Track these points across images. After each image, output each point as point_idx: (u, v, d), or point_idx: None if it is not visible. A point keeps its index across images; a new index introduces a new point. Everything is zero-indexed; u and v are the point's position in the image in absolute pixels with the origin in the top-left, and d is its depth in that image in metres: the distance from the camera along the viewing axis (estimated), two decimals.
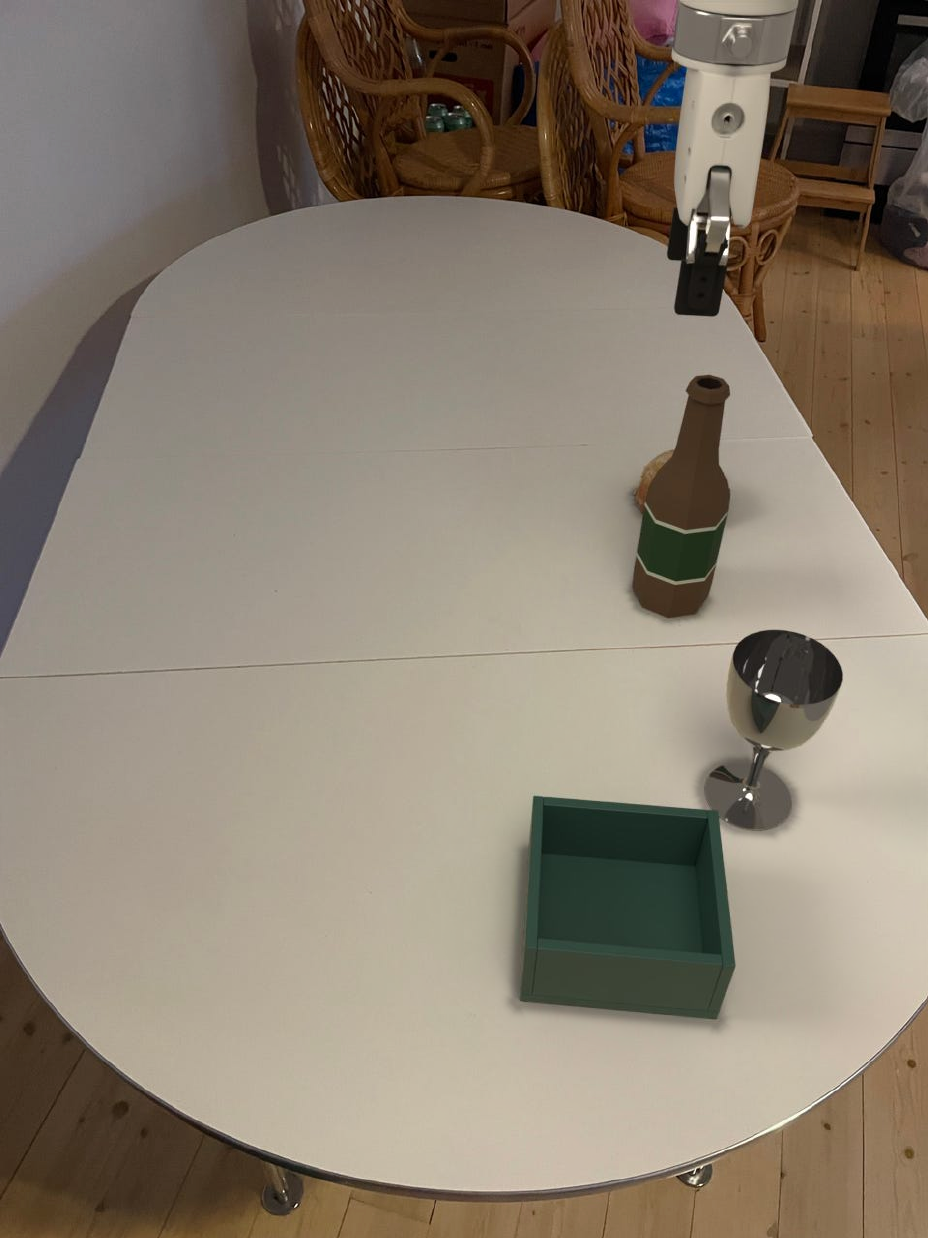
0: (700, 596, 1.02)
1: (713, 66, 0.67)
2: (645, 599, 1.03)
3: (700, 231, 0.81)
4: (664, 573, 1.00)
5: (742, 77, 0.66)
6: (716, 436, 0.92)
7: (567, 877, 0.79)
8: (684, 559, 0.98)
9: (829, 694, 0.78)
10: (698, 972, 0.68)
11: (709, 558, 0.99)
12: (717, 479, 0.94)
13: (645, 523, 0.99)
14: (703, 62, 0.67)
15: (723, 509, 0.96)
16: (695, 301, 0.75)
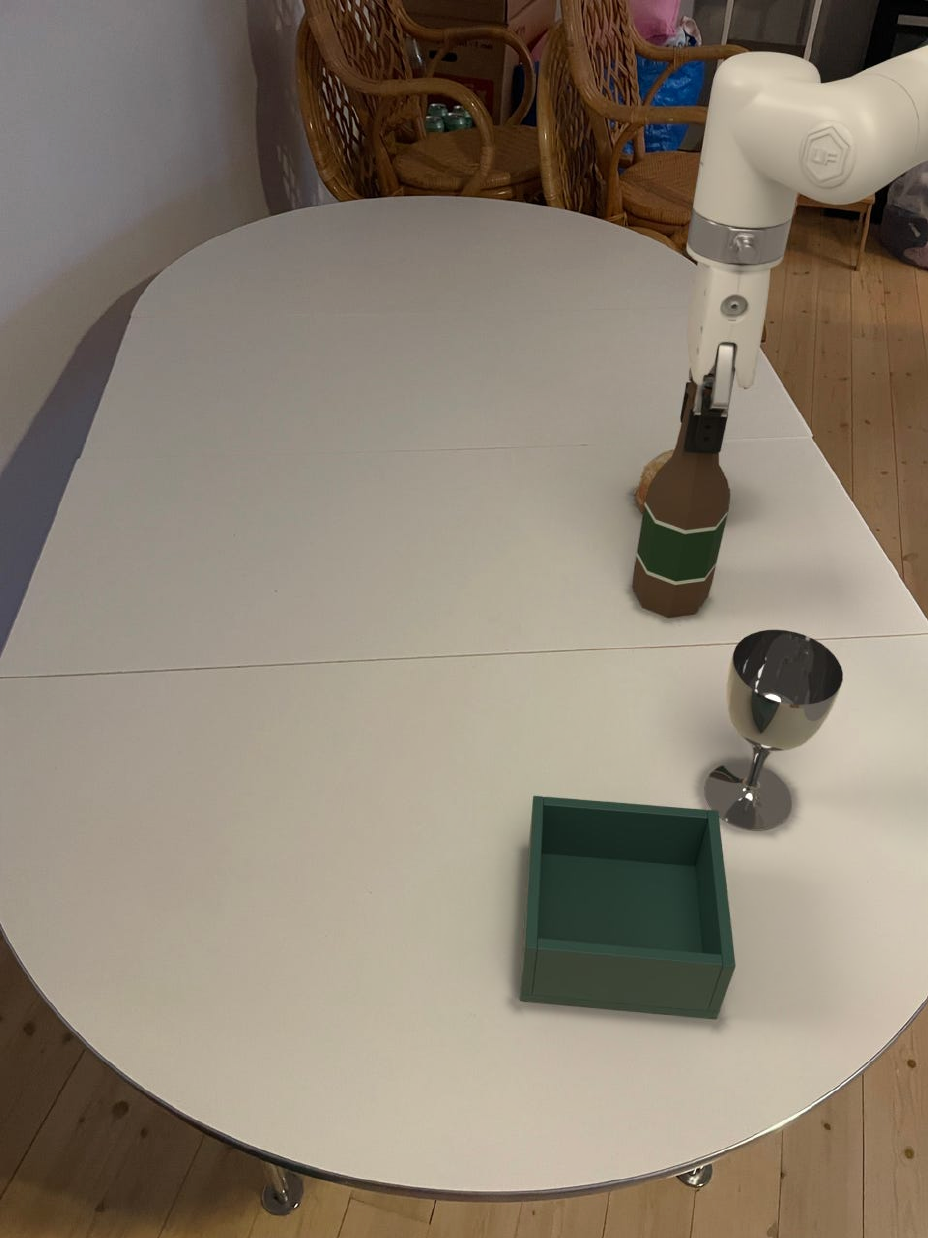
0: (700, 596, 1.02)
1: (722, 264, 0.79)
2: (644, 599, 1.03)
3: None
4: (664, 573, 1.00)
5: (746, 275, 0.79)
6: None
7: (567, 877, 0.79)
8: (684, 559, 0.98)
9: (829, 694, 0.78)
10: (698, 972, 0.68)
11: (709, 558, 0.99)
12: (717, 479, 0.94)
13: (646, 523, 0.99)
14: (713, 261, 0.79)
15: (723, 509, 0.96)
16: (701, 443, 0.90)
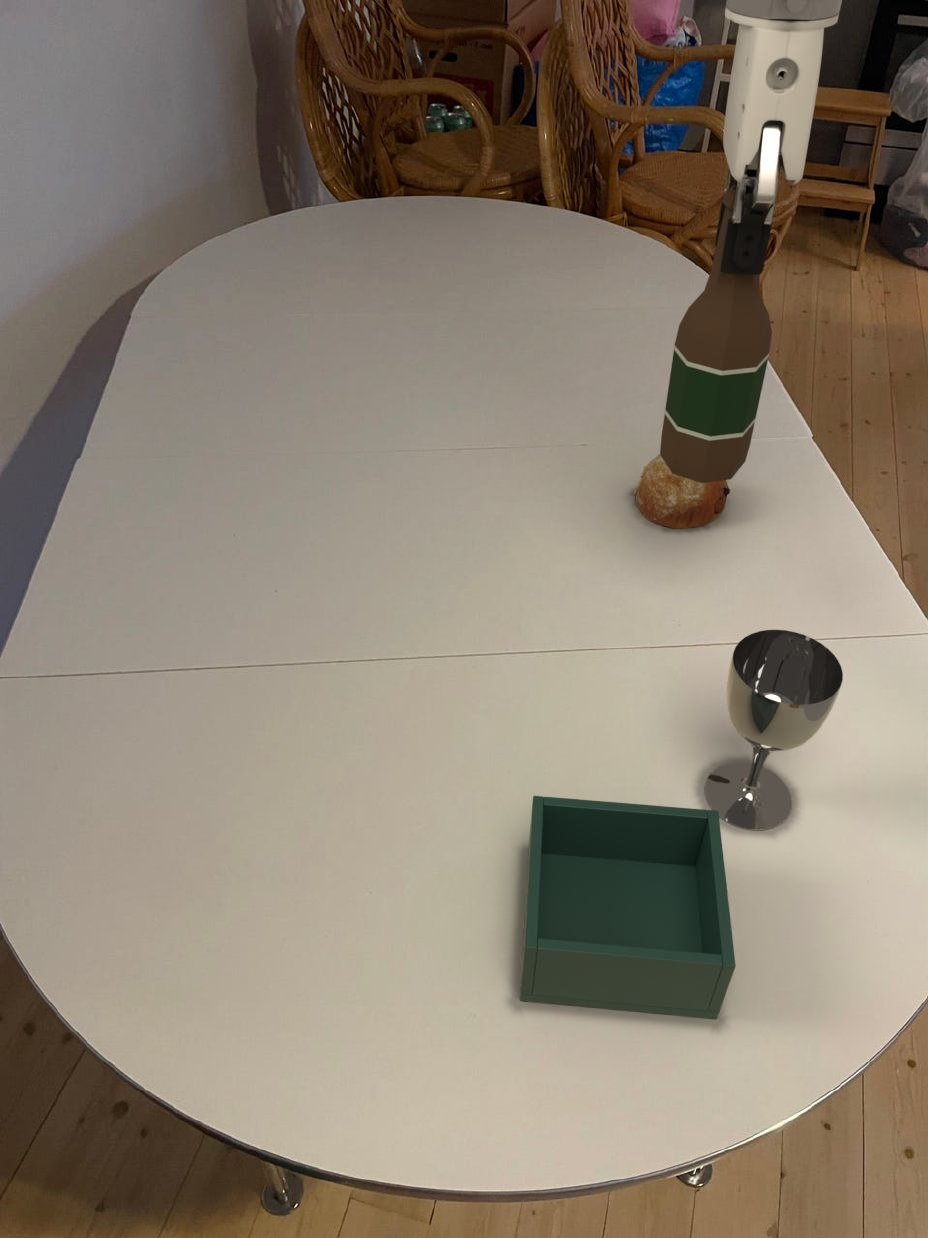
0: (737, 456, 0.90)
1: (768, 22, 0.68)
2: (674, 462, 0.92)
3: None
4: (697, 427, 0.88)
5: (797, 32, 0.68)
6: None
7: (567, 877, 0.79)
8: (720, 407, 0.86)
9: (829, 694, 0.78)
10: (698, 972, 0.68)
11: (748, 408, 0.87)
12: (757, 310, 0.83)
13: (676, 371, 0.88)
14: (758, 18, 0.68)
15: (764, 348, 0.85)
16: (741, 259, 0.79)
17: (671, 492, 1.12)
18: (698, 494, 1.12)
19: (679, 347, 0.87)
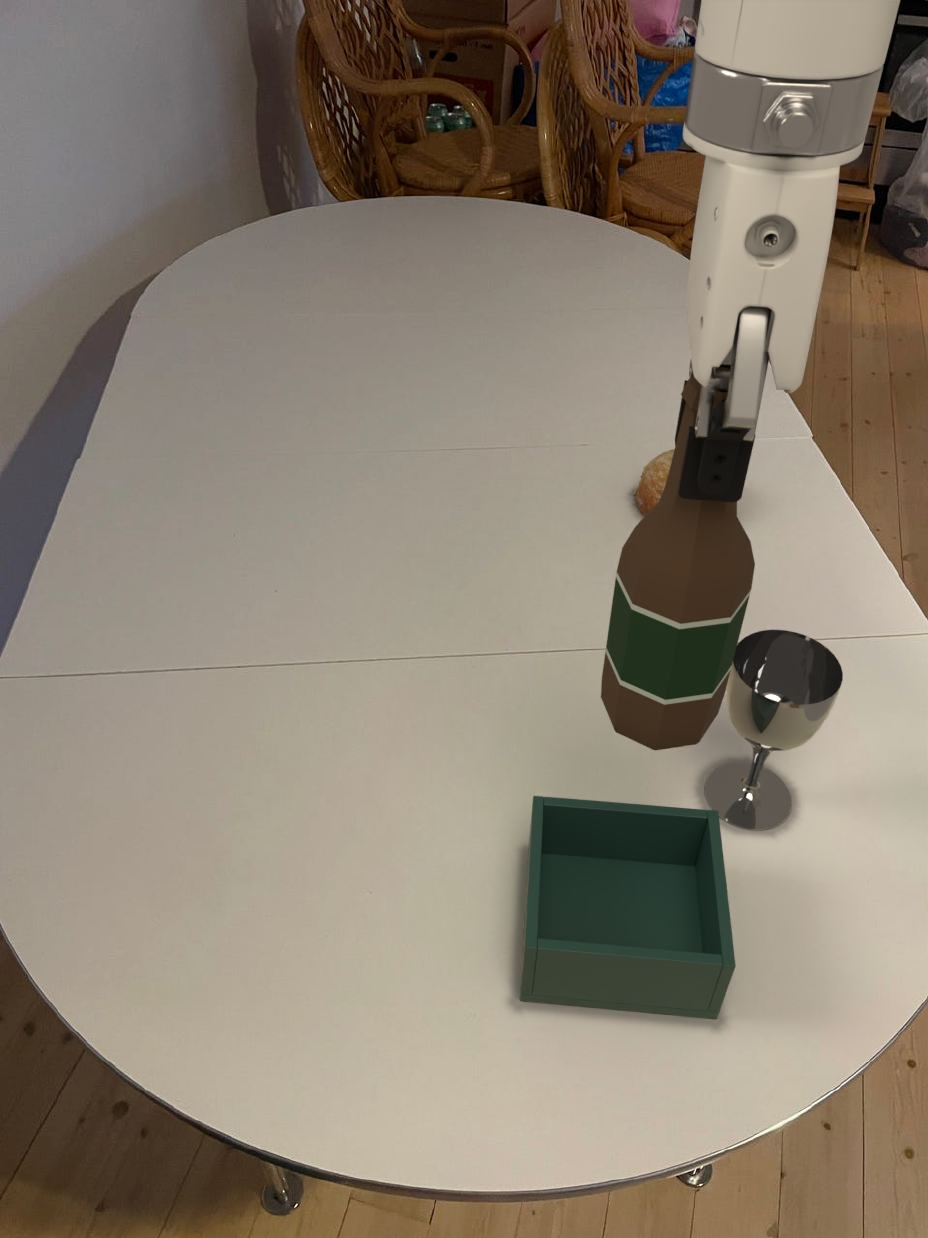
0: (705, 720, 0.64)
1: (748, 157, 0.42)
2: (618, 721, 0.66)
3: None
4: (648, 686, 0.62)
5: (795, 176, 0.41)
6: None
7: (567, 877, 0.79)
8: (680, 666, 0.60)
9: (829, 694, 0.78)
10: (698, 972, 0.68)
11: (720, 664, 0.61)
12: (733, 542, 0.57)
13: (618, 606, 0.62)
14: (732, 150, 0.42)
15: (743, 589, 0.59)
16: (708, 485, 0.52)
17: None
18: None
19: (622, 578, 0.60)
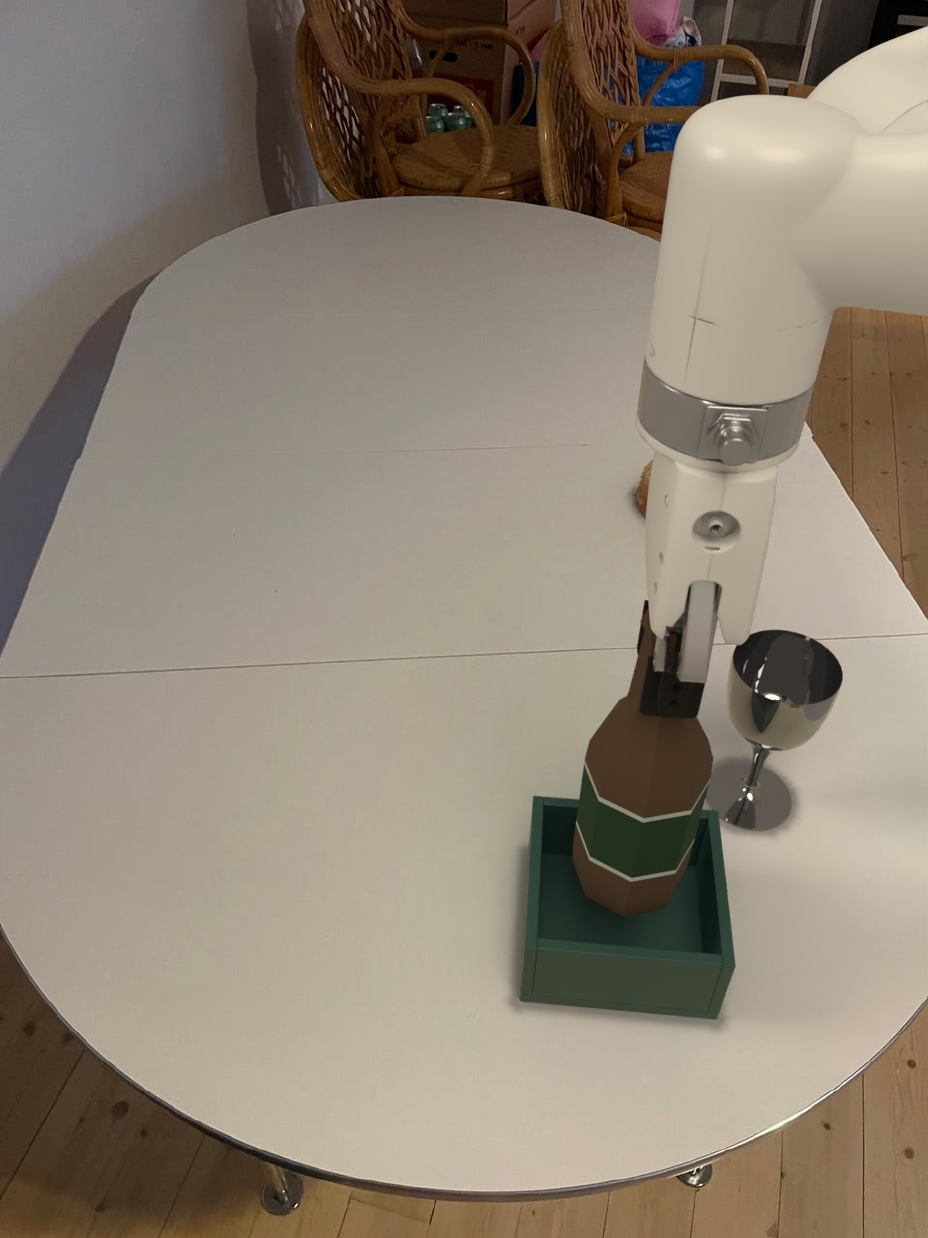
0: (670, 891, 0.68)
1: (694, 460, 0.46)
2: (588, 889, 0.69)
3: None
4: (615, 864, 0.66)
5: (736, 480, 0.45)
6: None
7: (567, 877, 0.79)
8: (644, 851, 0.64)
9: (829, 694, 0.78)
10: (698, 972, 0.68)
11: (682, 847, 0.65)
12: (692, 745, 0.61)
13: (586, 791, 0.66)
14: (680, 453, 0.46)
15: (702, 782, 0.63)
16: (666, 708, 0.56)
17: None
18: None
19: (590, 769, 0.64)
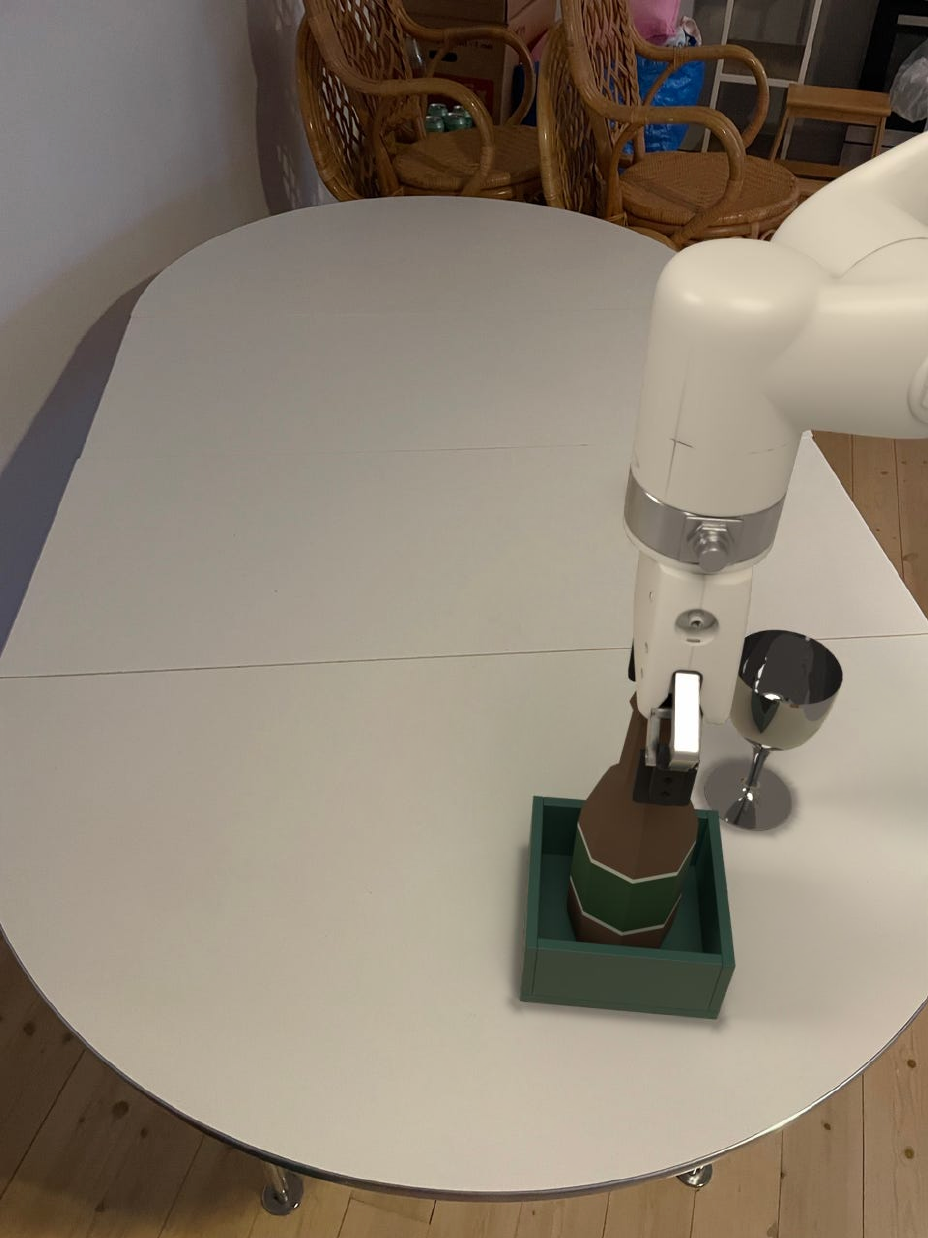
0: (658, 942, 0.72)
1: (676, 563, 0.50)
2: (581, 940, 0.74)
3: None
4: (607, 919, 0.70)
5: (715, 582, 0.49)
6: None
7: (567, 877, 0.79)
8: (634, 908, 0.68)
9: (829, 694, 0.78)
10: (698, 972, 0.68)
11: (669, 903, 0.69)
12: (678, 813, 0.65)
13: (580, 851, 0.70)
14: (662, 555, 0.50)
15: (688, 845, 0.67)
16: (658, 798, 0.57)
17: None
18: None
19: (583, 831, 0.68)
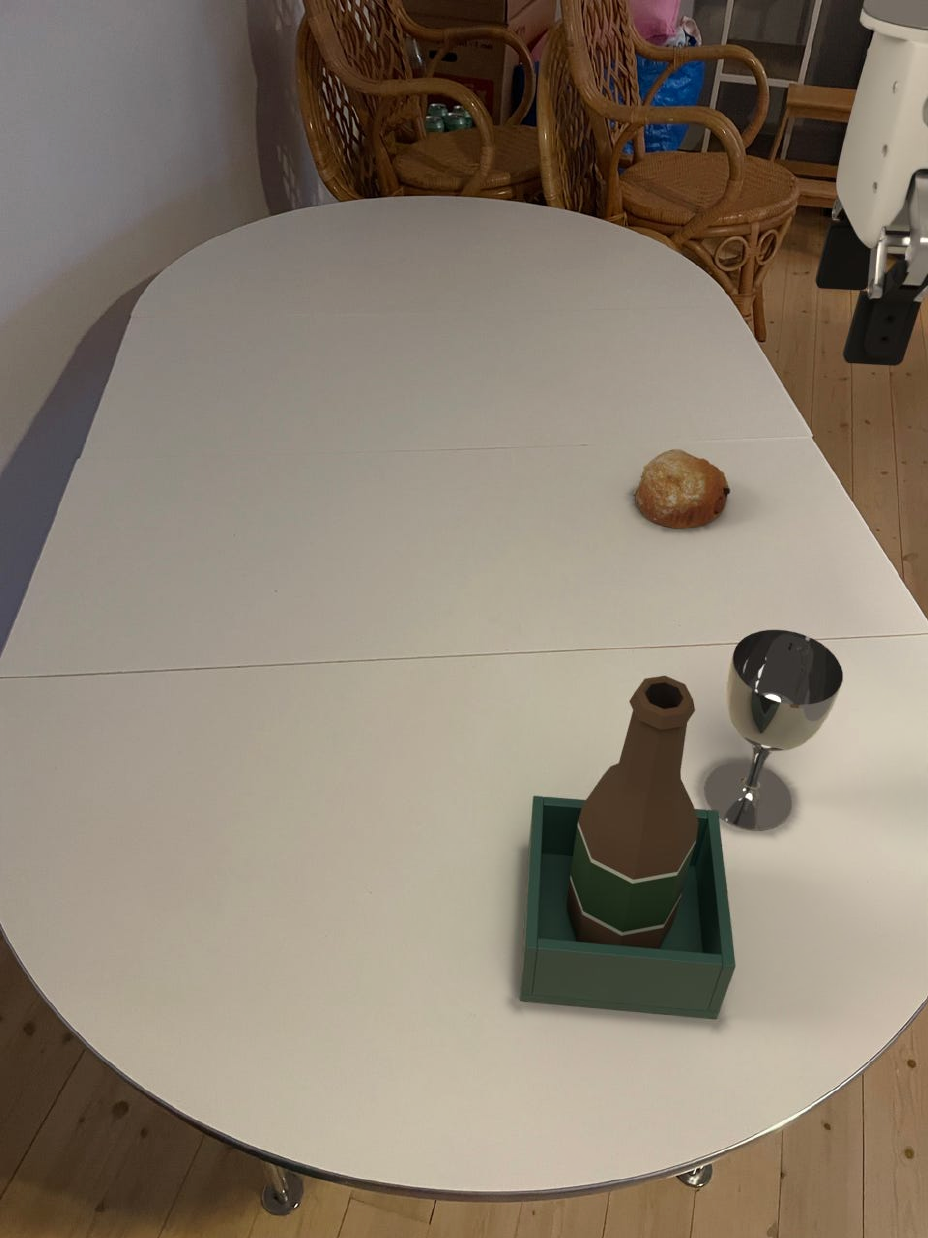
0: (658, 942, 0.72)
1: None
2: (581, 940, 0.74)
3: (863, 252, 0.64)
4: (607, 919, 0.70)
5: None
6: (675, 762, 0.62)
7: (567, 877, 0.79)
8: (634, 908, 0.68)
9: (829, 694, 0.78)
10: (698, 972, 0.68)
11: (669, 904, 0.69)
12: (678, 813, 0.65)
13: (580, 851, 0.70)
14: (915, 29, 0.49)
15: (688, 845, 0.67)
16: (875, 347, 0.57)
17: (671, 492, 1.12)
18: (698, 494, 1.12)
19: (583, 831, 0.68)
